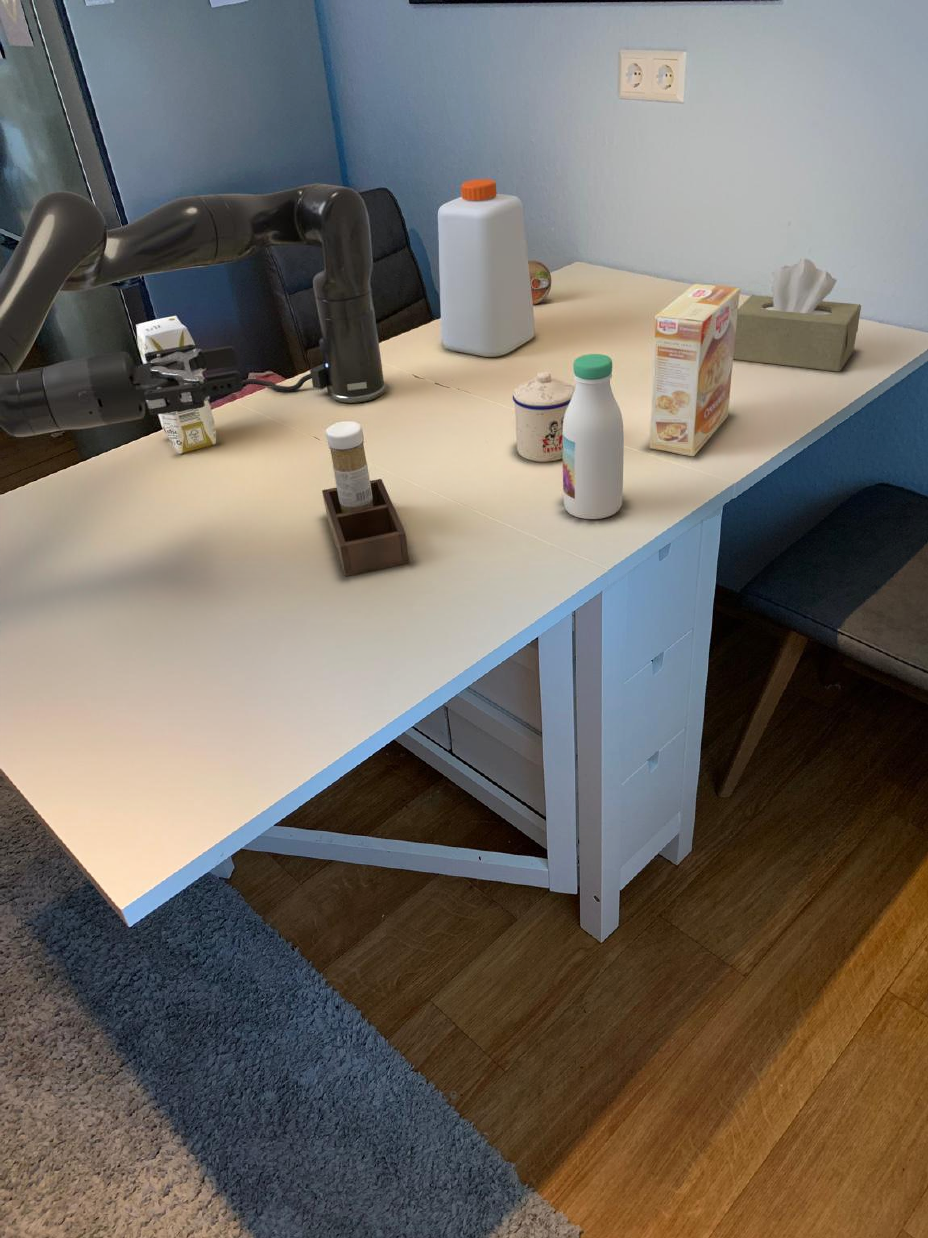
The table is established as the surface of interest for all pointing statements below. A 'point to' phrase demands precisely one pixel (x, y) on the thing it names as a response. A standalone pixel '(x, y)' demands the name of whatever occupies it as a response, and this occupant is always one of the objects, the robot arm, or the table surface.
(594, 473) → the milk bottle
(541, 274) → the tin
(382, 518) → the holder
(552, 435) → the teacup with lid
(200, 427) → the juice carton
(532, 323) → the plastic bottle
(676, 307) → the coffeecake box
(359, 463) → the sprinkles bottle
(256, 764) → the table surface
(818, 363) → the tissue box
